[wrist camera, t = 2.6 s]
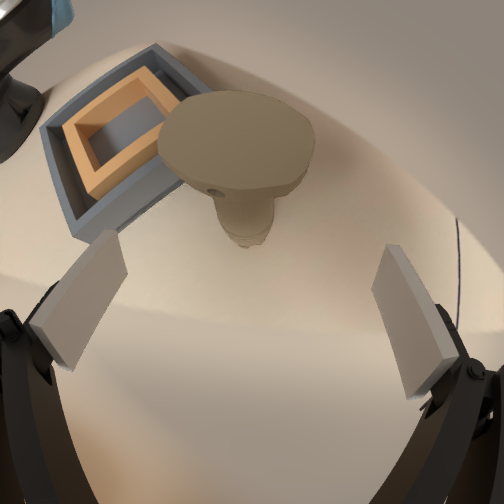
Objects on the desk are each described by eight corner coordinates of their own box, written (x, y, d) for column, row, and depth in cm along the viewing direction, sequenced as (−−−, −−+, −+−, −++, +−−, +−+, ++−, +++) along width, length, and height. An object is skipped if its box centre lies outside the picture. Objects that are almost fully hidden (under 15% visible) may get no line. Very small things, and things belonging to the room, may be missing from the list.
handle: (223, 199, 26) (186, 84, 11) (290, 217, 25) (323, 109, 10) (207, 247, 25) (139, 168, 10) (275, 267, 24) (299, 207, 10)
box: (59, 145, 28) (39, 127, 23) (165, 68, 30) (155, 43, 25) (100, 248, 25) (72, 236, 20) (241, 144, 27) (238, 114, 22)
